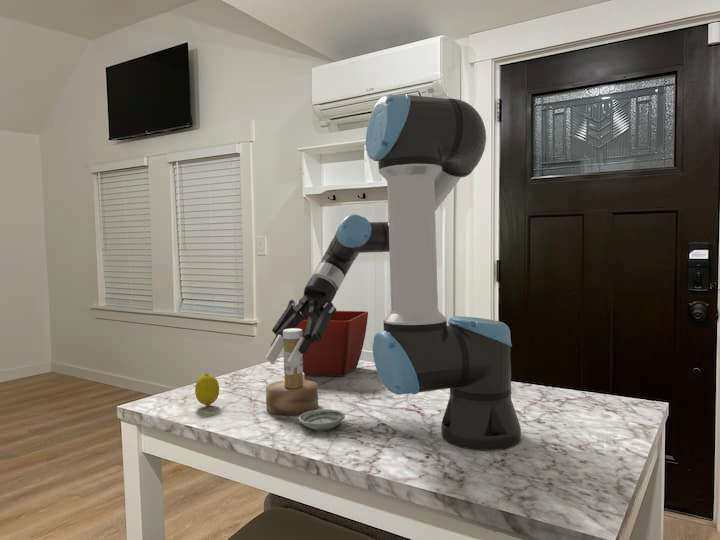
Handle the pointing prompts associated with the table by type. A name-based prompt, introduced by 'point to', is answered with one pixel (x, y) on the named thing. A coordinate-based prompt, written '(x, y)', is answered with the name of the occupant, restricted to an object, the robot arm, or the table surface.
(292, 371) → the sprinkles bottle
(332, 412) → the saucer
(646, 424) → the table surface
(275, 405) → the walnut pedestal
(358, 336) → the plant pot
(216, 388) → the lemon
